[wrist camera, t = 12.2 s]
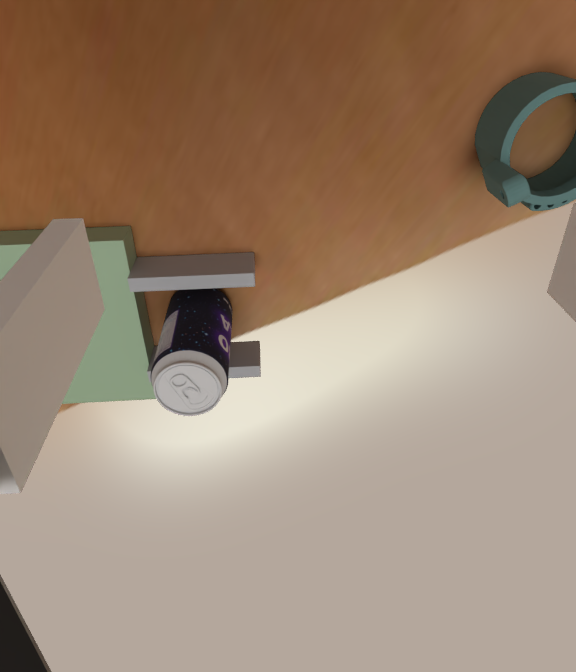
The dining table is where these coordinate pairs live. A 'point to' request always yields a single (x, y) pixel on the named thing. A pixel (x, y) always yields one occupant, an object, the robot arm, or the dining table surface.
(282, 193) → the dining table surface
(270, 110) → the dining table surface
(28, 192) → the dining table surface
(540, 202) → the bracket
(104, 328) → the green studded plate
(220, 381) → the beverage can
